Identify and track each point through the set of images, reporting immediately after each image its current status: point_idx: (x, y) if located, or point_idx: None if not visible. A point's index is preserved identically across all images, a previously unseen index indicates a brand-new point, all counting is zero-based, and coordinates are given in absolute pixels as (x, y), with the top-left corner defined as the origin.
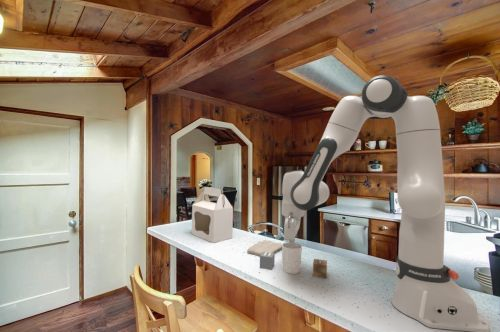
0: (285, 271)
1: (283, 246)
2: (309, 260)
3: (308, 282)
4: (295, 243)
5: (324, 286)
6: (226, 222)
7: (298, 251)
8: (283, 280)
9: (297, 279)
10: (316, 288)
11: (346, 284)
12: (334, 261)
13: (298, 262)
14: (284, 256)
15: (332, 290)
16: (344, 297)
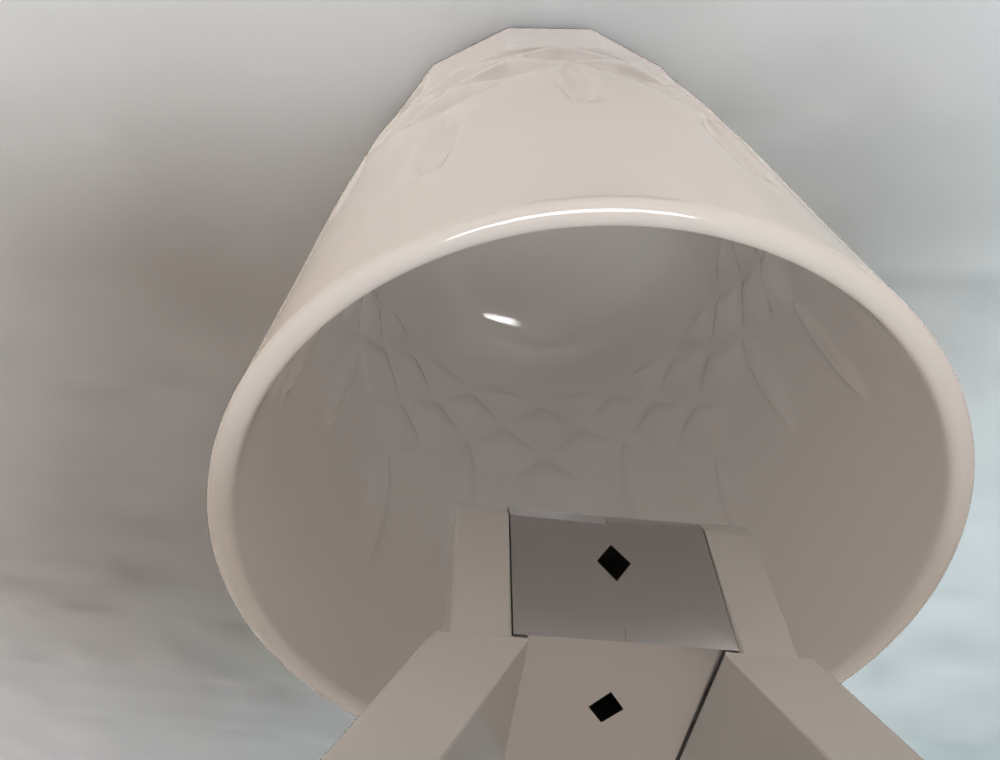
0: (414, 90)
1: (356, 276)
2: (996, 480)
3: (174, 440)
4: (871, 623)
5: (156, 590)
6: None
7: (347, 627)
8: (38, 63)
9: (199, 301)
10: (52, 516)
11: (310, 752)
12: (933, 729)
13: (422, 429)
14: (364, 175)
15: (101, 646)
16: (12, 711)
